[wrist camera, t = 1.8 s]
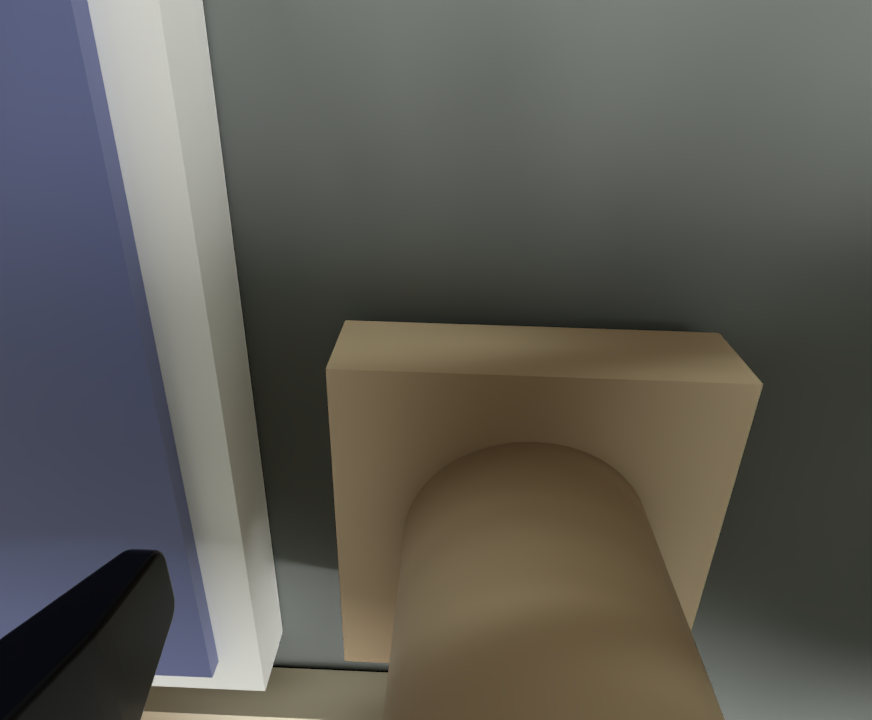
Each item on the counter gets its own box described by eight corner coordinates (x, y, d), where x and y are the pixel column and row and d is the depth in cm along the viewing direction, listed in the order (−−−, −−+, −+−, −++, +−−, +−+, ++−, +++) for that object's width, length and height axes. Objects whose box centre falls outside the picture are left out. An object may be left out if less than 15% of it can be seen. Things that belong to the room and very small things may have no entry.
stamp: (709, 320, 9) (1236, 937, 3) (647, 583, 11) (865, 1235, 5) (349, 308, 9) (121, 878, 3) (361, 571, 11) (246, 1196, 5)
